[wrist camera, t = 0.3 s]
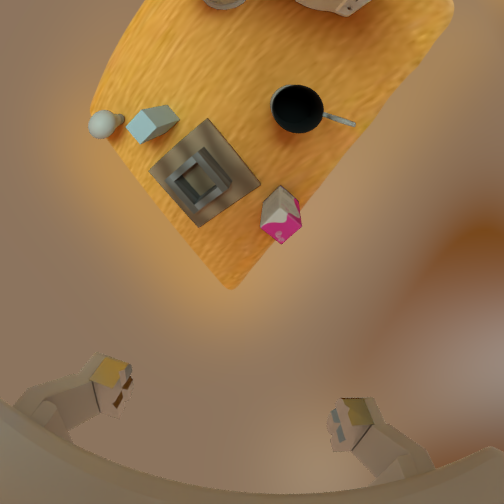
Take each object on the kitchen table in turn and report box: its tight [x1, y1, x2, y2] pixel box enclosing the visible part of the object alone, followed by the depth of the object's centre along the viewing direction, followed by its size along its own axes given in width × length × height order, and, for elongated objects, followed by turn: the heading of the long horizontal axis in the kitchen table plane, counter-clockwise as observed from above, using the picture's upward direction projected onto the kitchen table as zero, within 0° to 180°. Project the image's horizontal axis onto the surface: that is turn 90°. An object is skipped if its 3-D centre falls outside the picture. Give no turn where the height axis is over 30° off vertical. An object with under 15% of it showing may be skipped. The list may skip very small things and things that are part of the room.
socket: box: [149, 118, 261, 228], centre depth 54 cm, size 18×18×6 cm
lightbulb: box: [88, 110, 124, 139], centre depth 46 cm, size 6×6×11 cm
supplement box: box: [260, 185, 302, 244], centre depth 54 cm, size 6×6×11 cm
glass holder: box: [270, 85, 356, 133], centre depth 41 cm, size 9×14×15 cm, turn 79°
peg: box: [126, 105, 180, 144], centre depth 45 cm, size 4×4×12 cm
